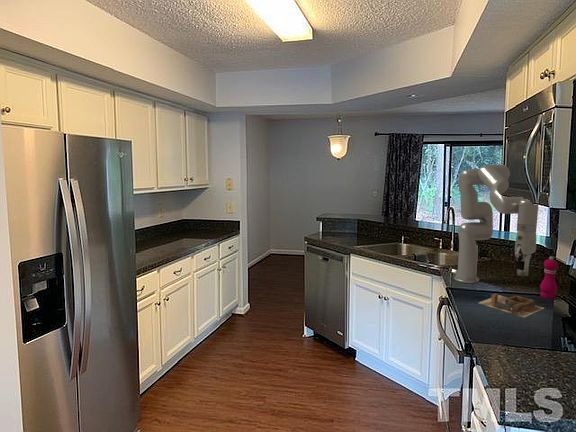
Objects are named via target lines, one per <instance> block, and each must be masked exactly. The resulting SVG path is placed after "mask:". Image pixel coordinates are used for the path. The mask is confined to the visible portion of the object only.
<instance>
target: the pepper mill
mask: <svg viewBox="0 0 576 432" xmlns="http://www.w3.org/2000/svg"><path fill="white" fill-rule="evenodd" d="M543 267H544V271H543V272H544V278H543V280H542V281H541V283H540V285H539V289H540V297H541V298H544V299H547V300H548V299H549V300H550V299H552V300H553V299H555V298H556V295H557V294H556V292H557V291H558V284H557V281H556V279H555V277H556V273H557V269H558V268H559V262H557V260H555V259H554V256H549V257H548V259H545V260H544V262H543Z"/></svg>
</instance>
